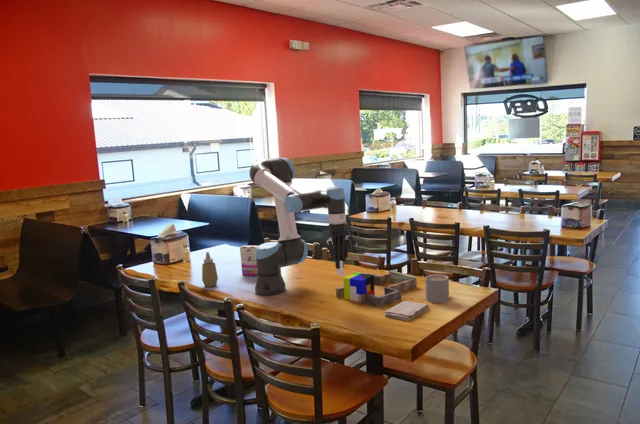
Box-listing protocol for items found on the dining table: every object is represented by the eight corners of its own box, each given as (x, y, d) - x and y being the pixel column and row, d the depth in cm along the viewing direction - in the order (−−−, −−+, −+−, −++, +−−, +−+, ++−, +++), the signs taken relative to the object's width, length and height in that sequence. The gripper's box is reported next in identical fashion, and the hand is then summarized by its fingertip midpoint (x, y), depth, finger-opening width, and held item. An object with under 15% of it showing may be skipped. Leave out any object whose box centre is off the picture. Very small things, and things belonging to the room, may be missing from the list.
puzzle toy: (363, 302, 236) (362, 280, 234) (344, 299, 242) (343, 277, 240) (374, 296, 244) (373, 275, 242) (356, 292, 250) (355, 272, 248)
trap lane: (372, 309, 226) (372, 297, 225) (326, 293, 251) (325, 283, 250) (428, 290, 247) (428, 279, 247) (380, 277, 273) (380, 267, 272)
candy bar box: (264, 274, 291) (262, 245, 289) (259, 276, 286) (257, 247, 284) (246, 273, 295) (244, 244, 293) (241, 275, 291) (239, 246, 288)
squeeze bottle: (221, 284, 276) (218, 250, 274) (212, 288, 269) (209, 254, 266) (209, 283, 280) (205, 250, 277) (199, 287, 273) (196, 253, 270)
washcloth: (383, 317, 216) (383, 310, 216) (404, 305, 231) (403, 298, 230) (409, 322, 209) (409, 315, 209) (429, 309, 223) (429, 302, 223)
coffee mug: (443, 304, 227) (443, 281, 225) (422, 301, 233) (421, 279, 231) (455, 295, 238) (454, 273, 236) (434, 292, 243) (434, 271, 242)
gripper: (331, 225, 224) (334, 279, 227) (354, 221, 231) (357, 273, 235) (320, 224, 229) (323, 276, 233) (343, 219, 237) (346, 270, 241)
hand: (340, 275), depth 234 cm, fingers closed
